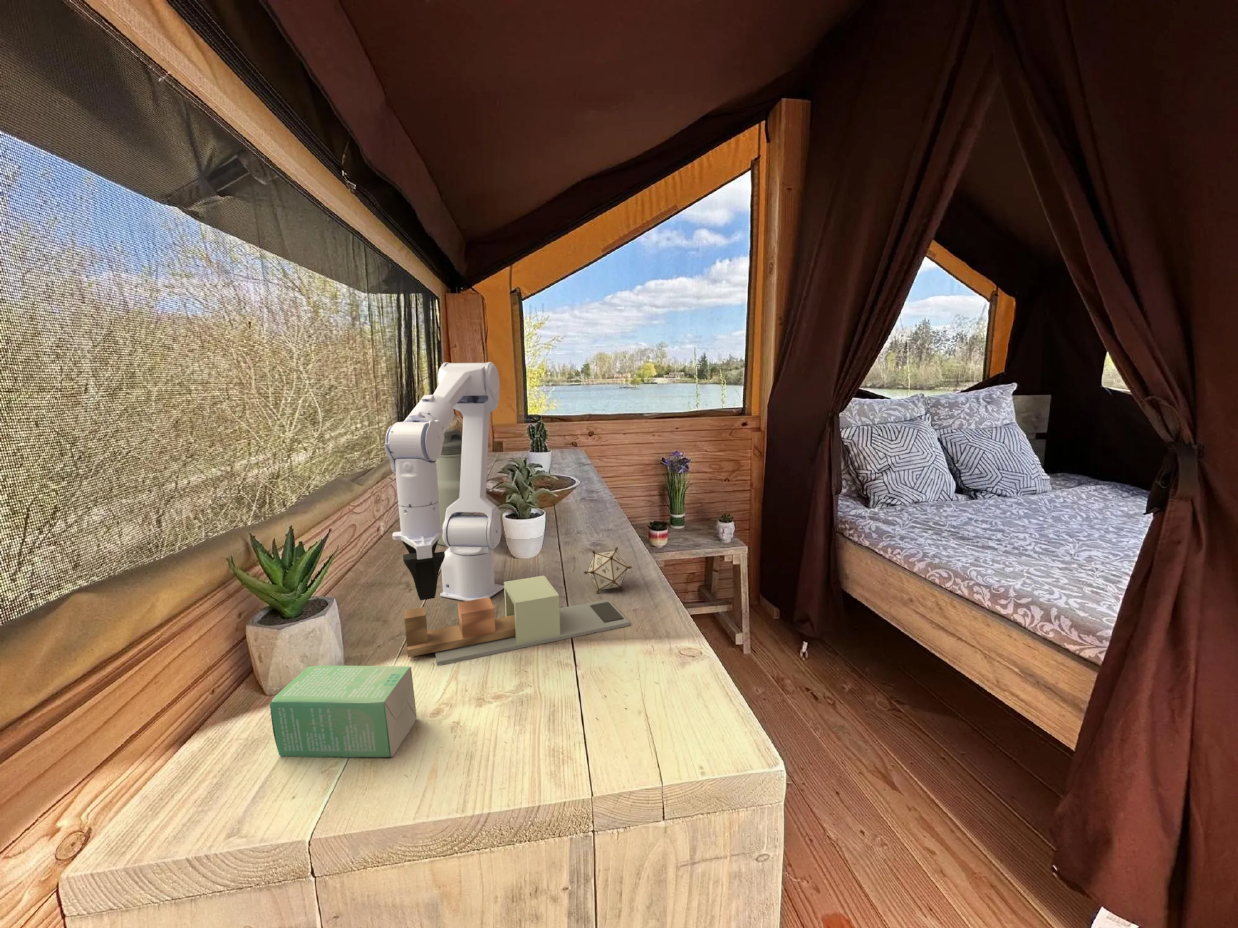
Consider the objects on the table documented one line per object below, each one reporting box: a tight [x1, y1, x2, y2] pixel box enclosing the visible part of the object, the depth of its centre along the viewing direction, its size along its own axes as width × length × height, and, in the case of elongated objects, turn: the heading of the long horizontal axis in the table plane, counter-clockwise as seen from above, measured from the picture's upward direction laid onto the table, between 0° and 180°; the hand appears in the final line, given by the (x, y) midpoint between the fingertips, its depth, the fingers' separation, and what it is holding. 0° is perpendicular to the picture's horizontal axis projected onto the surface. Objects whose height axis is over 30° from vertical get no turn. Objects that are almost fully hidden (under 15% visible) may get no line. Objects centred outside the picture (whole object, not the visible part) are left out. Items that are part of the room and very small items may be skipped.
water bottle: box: [436, 429, 474, 547], centre depth 135 cm, size 10×10×28 cm
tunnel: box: [503, 575, 561, 644], centre depth 90 cm, size 7×9×7 cm
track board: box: [434, 599, 631, 666], centre depth 90 cm, size 31×10×1 cm, turn 113°
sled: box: [403, 597, 516, 658], centre depth 86 cm, size 21×5×6 cm, turn 113°
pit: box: [590, 602, 623, 623], centre depth 95 cm, size 4×7×1 cm, turn 23°
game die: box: [583, 546, 633, 594], centre depth 106 cm, size 9×8×10 cm
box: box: [269, 665, 417, 758], centre depth 64 cm, size 7×14×8 cm, turn 88°
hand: (425, 588), depth 83 cm, fingers open, 7 cm apart
